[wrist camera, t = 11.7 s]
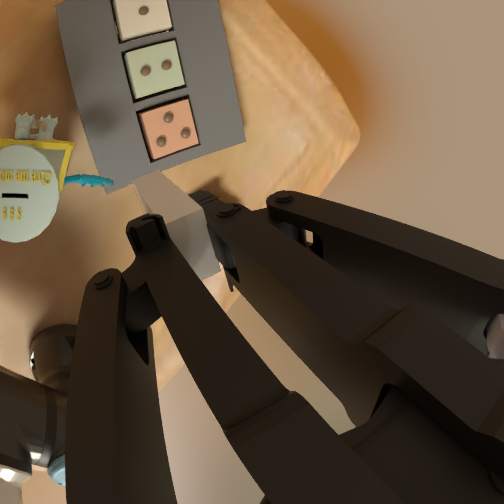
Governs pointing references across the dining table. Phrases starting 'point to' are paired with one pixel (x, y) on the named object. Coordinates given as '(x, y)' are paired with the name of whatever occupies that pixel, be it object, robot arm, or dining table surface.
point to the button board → (123, 109)
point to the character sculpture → (34, 178)
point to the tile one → (140, 18)
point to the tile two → (153, 69)
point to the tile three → (168, 128)
